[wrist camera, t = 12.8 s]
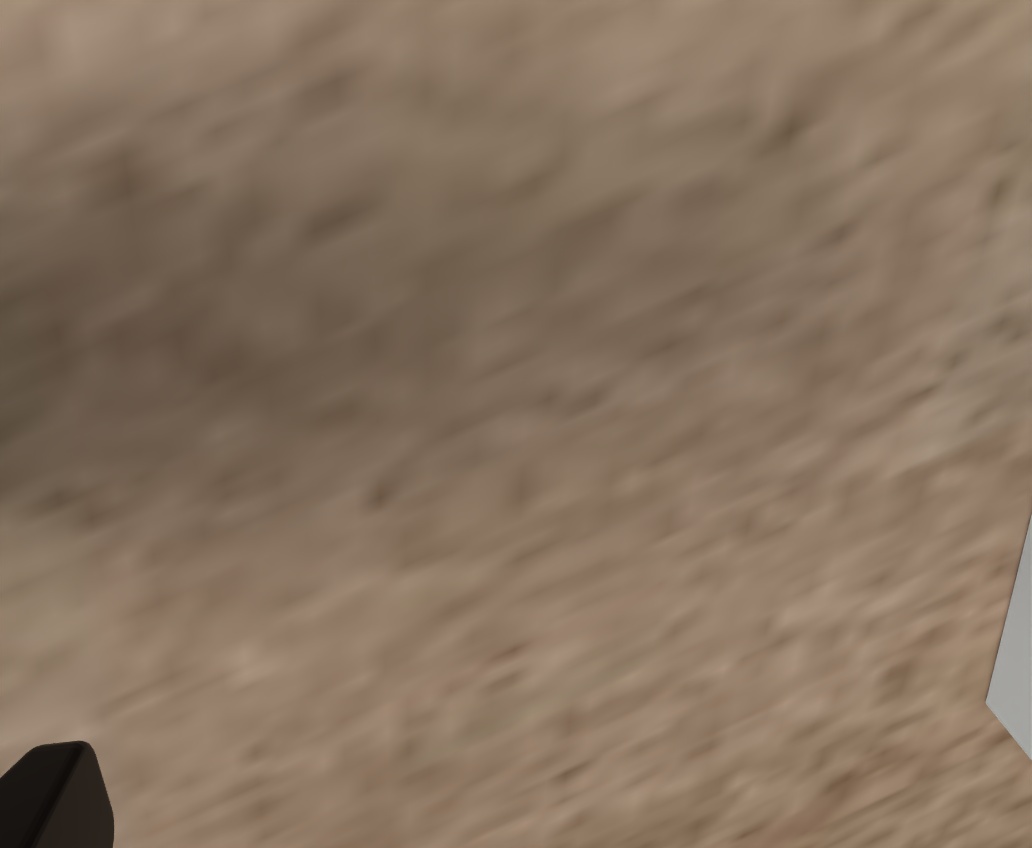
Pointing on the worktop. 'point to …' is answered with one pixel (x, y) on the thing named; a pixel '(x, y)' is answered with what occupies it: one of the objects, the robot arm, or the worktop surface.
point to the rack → (1016, 659)
